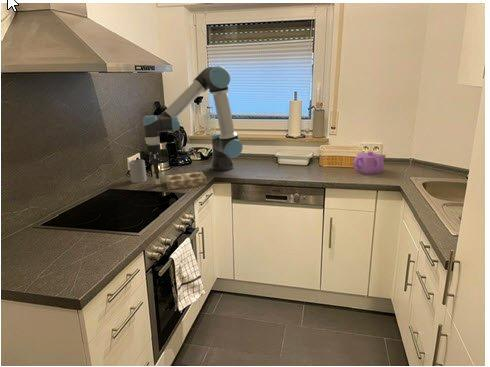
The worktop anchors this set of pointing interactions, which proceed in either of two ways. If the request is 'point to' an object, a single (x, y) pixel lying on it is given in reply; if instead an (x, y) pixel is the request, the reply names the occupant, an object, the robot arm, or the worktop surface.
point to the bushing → (154, 177)
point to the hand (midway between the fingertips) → (157, 180)
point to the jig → (185, 180)
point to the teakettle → (369, 163)
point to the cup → (137, 171)
